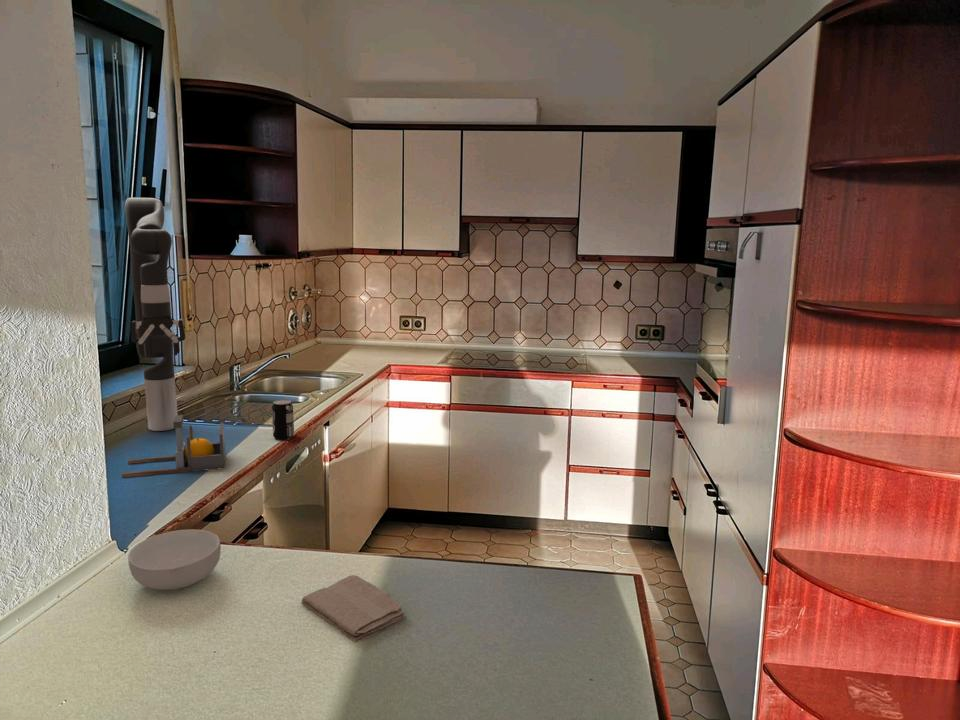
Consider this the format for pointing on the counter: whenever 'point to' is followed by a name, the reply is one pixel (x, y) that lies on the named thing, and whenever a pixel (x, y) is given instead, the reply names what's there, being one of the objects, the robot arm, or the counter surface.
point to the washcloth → (355, 607)
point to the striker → (179, 442)
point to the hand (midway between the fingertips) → (160, 355)
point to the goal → (208, 460)
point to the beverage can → (283, 419)
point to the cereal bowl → (174, 558)
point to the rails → (154, 472)
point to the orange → (200, 448)
